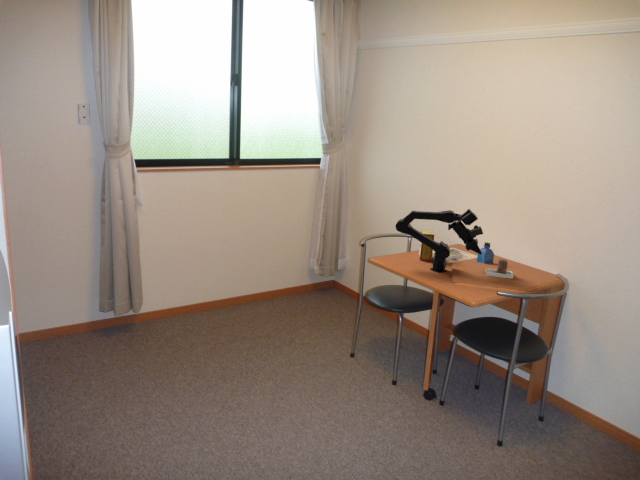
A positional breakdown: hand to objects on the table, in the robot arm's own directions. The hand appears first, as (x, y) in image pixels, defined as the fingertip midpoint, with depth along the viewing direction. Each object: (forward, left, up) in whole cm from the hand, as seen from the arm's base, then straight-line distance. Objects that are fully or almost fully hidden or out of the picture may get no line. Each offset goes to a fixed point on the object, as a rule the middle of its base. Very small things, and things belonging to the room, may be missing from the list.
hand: (481, 253), depth 249 cm
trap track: (+6, -8, -12) cm, 15 cm away
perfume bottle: (+21, +12, -12) cm, 27 cm away
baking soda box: (-3, +35, -12) cm, 37 cm away
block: (+7, -8, -10) cm, 15 cm away
